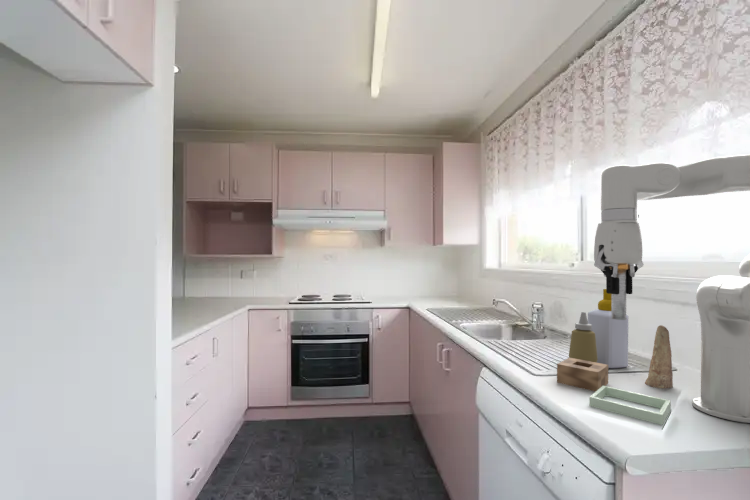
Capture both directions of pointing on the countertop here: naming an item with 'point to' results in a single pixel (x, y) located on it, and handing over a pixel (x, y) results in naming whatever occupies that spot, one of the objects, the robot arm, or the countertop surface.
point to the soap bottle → (609, 334)
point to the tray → (631, 411)
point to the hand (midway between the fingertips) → (619, 293)
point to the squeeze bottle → (583, 341)
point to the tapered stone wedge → (661, 361)
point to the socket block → (582, 374)
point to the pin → (620, 295)
